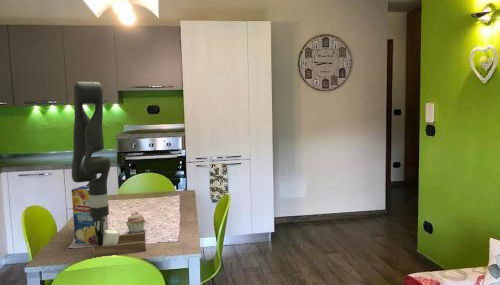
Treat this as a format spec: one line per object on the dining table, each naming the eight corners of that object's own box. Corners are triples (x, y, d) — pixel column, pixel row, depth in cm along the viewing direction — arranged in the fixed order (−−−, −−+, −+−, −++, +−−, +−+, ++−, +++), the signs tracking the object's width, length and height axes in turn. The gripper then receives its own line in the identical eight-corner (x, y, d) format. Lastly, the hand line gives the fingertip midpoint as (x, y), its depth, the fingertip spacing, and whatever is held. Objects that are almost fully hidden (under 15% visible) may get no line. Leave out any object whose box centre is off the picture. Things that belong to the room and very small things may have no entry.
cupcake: (139, 235, 184) (138, 214, 183) (122, 233, 187) (120, 213, 186) (150, 229, 192) (149, 209, 191) (133, 227, 195) (132, 207, 194)
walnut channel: (97, 244, 173) (97, 237, 172) (145, 239, 178) (145, 232, 177) (94, 256, 160) (93, 247, 159) (145, 250, 165) (145, 242, 165)
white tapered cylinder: (110, 244, 172) (112, 228, 172) (121, 248, 169) (123, 232, 169) (97, 247, 166) (99, 230, 166) (108, 251, 163) (110, 234, 163)
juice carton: (75, 242, 176) (71, 189, 173) (85, 237, 183) (82, 185, 180) (98, 244, 173) (95, 190, 170) (108, 238, 180) (105, 186, 178)
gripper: (91, 201, 170) (93, 240, 172) (86, 209, 157) (89, 251, 159) (109, 199, 172) (111, 238, 174) (106, 207, 159) (108, 249, 161)
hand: (101, 244), depth 166 cm, fingers closed
